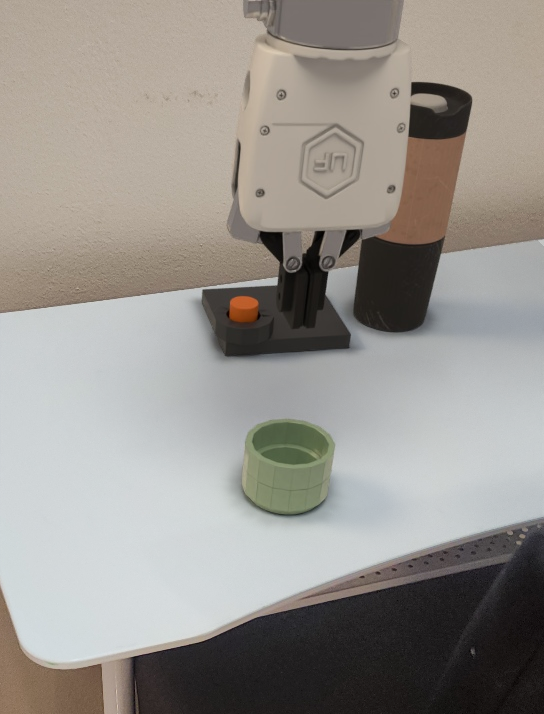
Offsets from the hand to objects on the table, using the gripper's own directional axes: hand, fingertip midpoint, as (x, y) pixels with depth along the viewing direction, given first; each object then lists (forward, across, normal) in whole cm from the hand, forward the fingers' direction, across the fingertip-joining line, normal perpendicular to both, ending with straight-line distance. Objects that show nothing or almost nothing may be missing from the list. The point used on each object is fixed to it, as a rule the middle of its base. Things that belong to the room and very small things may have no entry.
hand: (297, 319), depth 69 cm
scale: (+13, +6, +25) cm, 29 cm away
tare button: (+11, +2, +22) cm, 24 cm away
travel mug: (+13, +18, +26) cm, 34 cm away
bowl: (+13, 0, -2) cm, 13 cm away
